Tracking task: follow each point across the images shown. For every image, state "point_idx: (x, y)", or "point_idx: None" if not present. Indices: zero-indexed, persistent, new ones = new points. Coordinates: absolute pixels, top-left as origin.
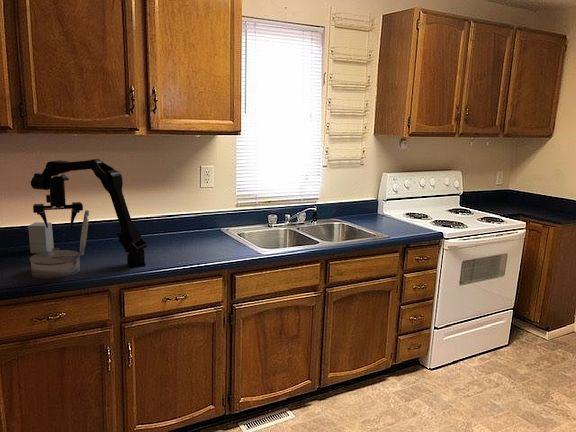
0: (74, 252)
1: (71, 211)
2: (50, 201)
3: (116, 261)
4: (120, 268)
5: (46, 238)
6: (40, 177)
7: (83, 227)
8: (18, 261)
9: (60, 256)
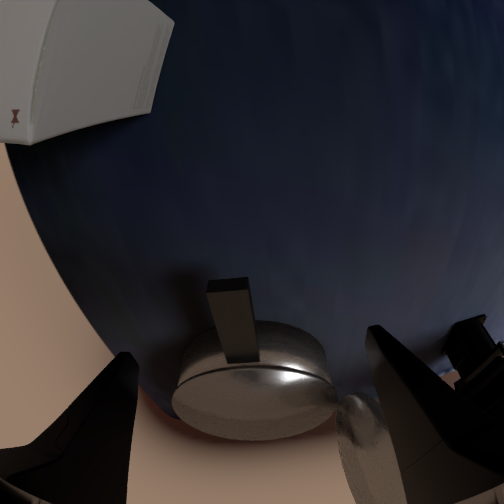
0: (322, 393)
1: (466, 472)
2: None
3: (442, 304)
4: (421, 357)
5: (108, 109)
6: None
7: (373, 487)
8: (75, 237)
9: (272, 416)
